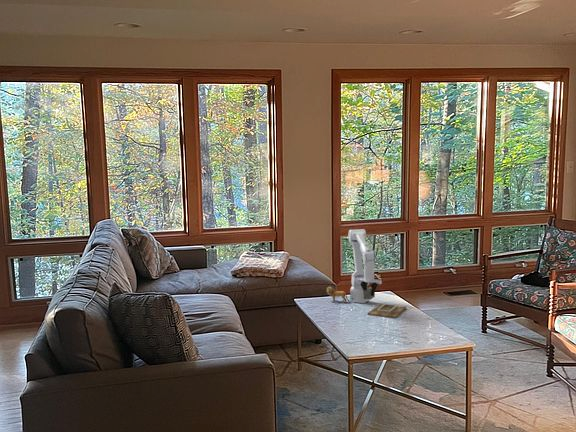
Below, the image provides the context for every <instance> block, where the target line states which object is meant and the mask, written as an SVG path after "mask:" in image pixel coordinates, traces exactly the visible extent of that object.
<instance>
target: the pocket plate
mask: <svg viewBox="0 0 576 432" xmlns="http://www.w3.org/2000/svg"><path fill="white" fill-rule="evenodd" d="M406 310H407V306H401V305H397V304H389V303H383V304H382V303H379V304H378V305H376V307H374V308H372V309H371V310H370V311H369V312H367V315H369V316H376V317H383V318H392V319H396V318H398V317H399V316H400V315H401V314H402V313H403V312H404V311H406Z"/></svg>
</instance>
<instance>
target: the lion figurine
mask: <svg viewBox="0 0 576 432" xmlns="http://www.w3.org/2000/svg"><path fill="white" fill-rule="evenodd" d="M326 293H327V295H329V296H330V297H332V301H334V302H335V301H336V298H340V297H341V298H342V300H341V301H342V302H344V303H345V304H346V303H347V302H350V299H348V296H347V293H346V292H345V291H344V290H343V291H342V290H341V291H339V290H337V289H336V288H334V287H332V286H328V287H326ZM350 303H351V302H350Z"/></svg>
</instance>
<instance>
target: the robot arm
mask: <svg viewBox="0 0 576 432" xmlns="http://www.w3.org/2000/svg"><path fill="white" fill-rule="evenodd" d="M347 233H348V235H347V236H348V242H349V244H350V245H351V247H352V252H353V261H354V270H355V271H354V272H353V273H352V274H351V281H350V282H351V287H350V290H349V294H350V295H349V301H350V303H358V304H359V303H360V304H366V302H369V300H368V299H364V293H363V291H364V290H365V289H367V288H368V286H369V285H370V287H371V288H372V296H374V294H375V293H376V289H377V287H378V285H382V284H383V283H382V279H375V262H376V252H375V251H374V250H372V248H371V246H370V245H369V243H367V241H366V238H367V231H366V230H365V228H363V229H348V232H347Z"/></svg>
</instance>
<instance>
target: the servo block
mask: <svg viewBox="0 0 576 432" xmlns="http://www.w3.org/2000/svg"><path fill="white" fill-rule="evenodd" d="M363 293H364V299H368V301H371V300H372V299H373V298H375V297H376V295H375V294H374V296H372V288H371V286H370V287H367V289H365V290H364V291H363Z"/></svg>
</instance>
